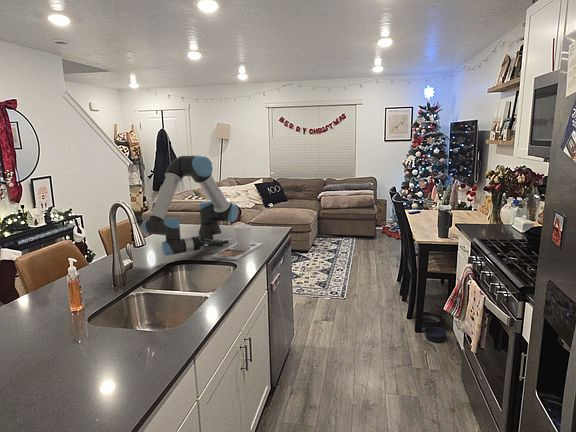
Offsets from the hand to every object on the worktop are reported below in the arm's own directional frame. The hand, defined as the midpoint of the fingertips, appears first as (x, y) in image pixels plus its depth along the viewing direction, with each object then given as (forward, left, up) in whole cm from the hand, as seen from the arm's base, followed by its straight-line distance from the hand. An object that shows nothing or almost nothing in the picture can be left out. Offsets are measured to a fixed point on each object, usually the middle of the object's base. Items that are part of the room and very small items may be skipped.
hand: (228, 238), depth 220 cm
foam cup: (-8, +6, -8) cm, 12 cm away
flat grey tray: (0, +6, -7) cm, 9 cm away
